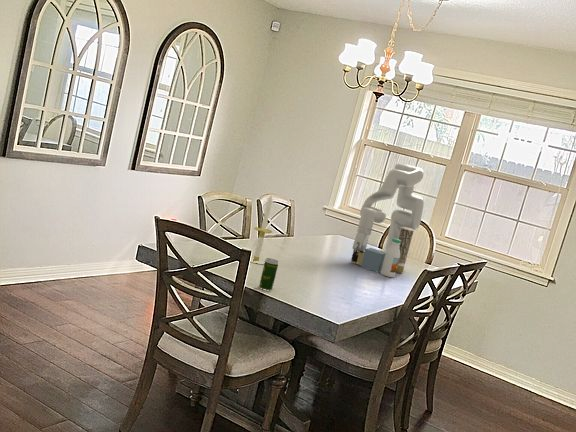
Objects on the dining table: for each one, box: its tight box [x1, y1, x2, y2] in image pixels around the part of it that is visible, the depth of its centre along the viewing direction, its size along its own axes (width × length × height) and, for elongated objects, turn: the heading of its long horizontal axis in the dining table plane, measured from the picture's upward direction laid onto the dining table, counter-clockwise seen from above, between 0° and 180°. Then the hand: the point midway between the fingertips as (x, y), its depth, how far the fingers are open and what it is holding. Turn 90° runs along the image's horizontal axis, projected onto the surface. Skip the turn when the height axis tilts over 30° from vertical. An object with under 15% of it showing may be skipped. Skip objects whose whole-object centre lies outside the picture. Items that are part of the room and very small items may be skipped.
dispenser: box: [360, 247, 386, 273], centre depth 365 cm, size 10×10×10 cm
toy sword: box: [253, 193, 273, 262], centre depth 311 cm, size 10×10×32 cm
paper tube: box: [396, 227, 415, 274], centre depth 373 cm, size 7×7×25 cm
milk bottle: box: [380, 238, 401, 278], centre depth 356 cm, size 8×8×20 cm
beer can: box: [258, 257, 279, 291], centre depth 266 cm, size 5×5×12 cm
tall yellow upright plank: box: [351, 251, 364, 266], centre depth 368 cm, size 1×12×6 cm, turn 65°
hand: (356, 260), depth 370 cm, fingers open, 8 cm apart
